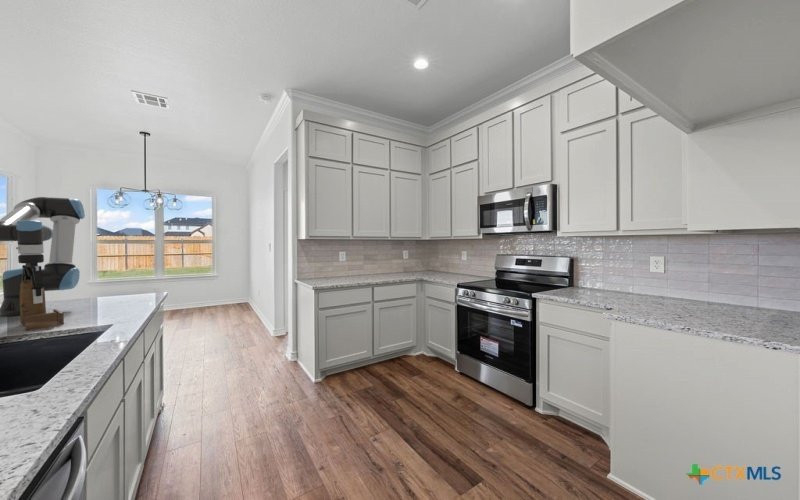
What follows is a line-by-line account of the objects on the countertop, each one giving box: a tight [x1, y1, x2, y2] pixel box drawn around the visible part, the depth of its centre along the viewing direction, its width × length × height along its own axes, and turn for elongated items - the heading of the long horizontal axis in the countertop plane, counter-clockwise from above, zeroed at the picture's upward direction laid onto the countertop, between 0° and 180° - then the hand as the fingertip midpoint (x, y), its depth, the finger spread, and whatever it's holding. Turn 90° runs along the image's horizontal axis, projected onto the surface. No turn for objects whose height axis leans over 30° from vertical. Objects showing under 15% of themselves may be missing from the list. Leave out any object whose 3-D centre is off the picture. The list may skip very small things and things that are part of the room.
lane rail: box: [52, 308, 65, 325], centre depth 146 cm, size 14×1×5 cm, turn 57°
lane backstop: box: [24, 312, 58, 332], centre depth 136 cm, size 1×9×6 cm, turn 147°
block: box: [19, 280, 47, 326], centre depth 144 cm, size 11×8×20 cm
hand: (33, 302), depth 144 cm, fingers closed on block, 11 cm apart
